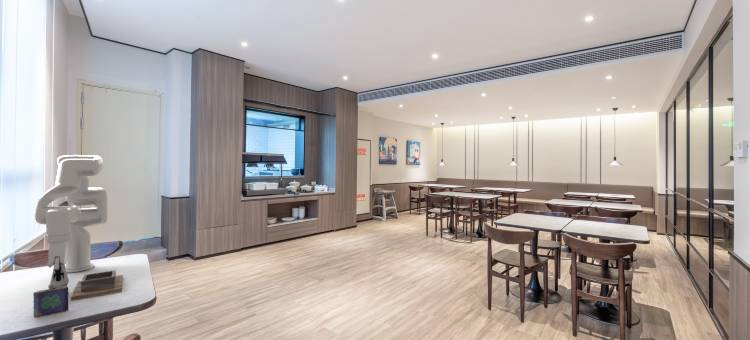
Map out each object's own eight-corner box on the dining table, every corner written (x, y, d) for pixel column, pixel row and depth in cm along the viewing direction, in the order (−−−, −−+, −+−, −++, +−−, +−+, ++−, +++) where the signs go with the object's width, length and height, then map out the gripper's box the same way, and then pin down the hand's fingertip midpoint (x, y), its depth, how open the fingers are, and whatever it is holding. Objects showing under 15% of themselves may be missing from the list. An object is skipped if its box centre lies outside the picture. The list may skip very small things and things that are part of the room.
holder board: (78, 284, 149) (78, 272, 149) (122, 277, 159) (122, 266, 159) (70, 300, 132) (70, 287, 132) (121, 291, 141) (121, 279, 141)
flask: (32, 318, 116) (32, 288, 116) (34, 315, 119) (34, 286, 119) (68, 311, 122) (68, 282, 122) (69, 308, 125) (69, 280, 124)
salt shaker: (57, 291, 135) (56, 260, 135) (46, 290, 137) (45, 259, 136) (72, 286, 141) (72, 256, 141) (62, 285, 142) (61, 255, 142)
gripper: (50, 235, 143) (51, 277, 143) (42, 243, 130) (42, 289, 130) (73, 233, 147) (74, 273, 148) (68, 240, 134) (68, 285, 135)
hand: (59, 280), depth 139 cm, fingers closed on salt shaker, 3 cm apart
